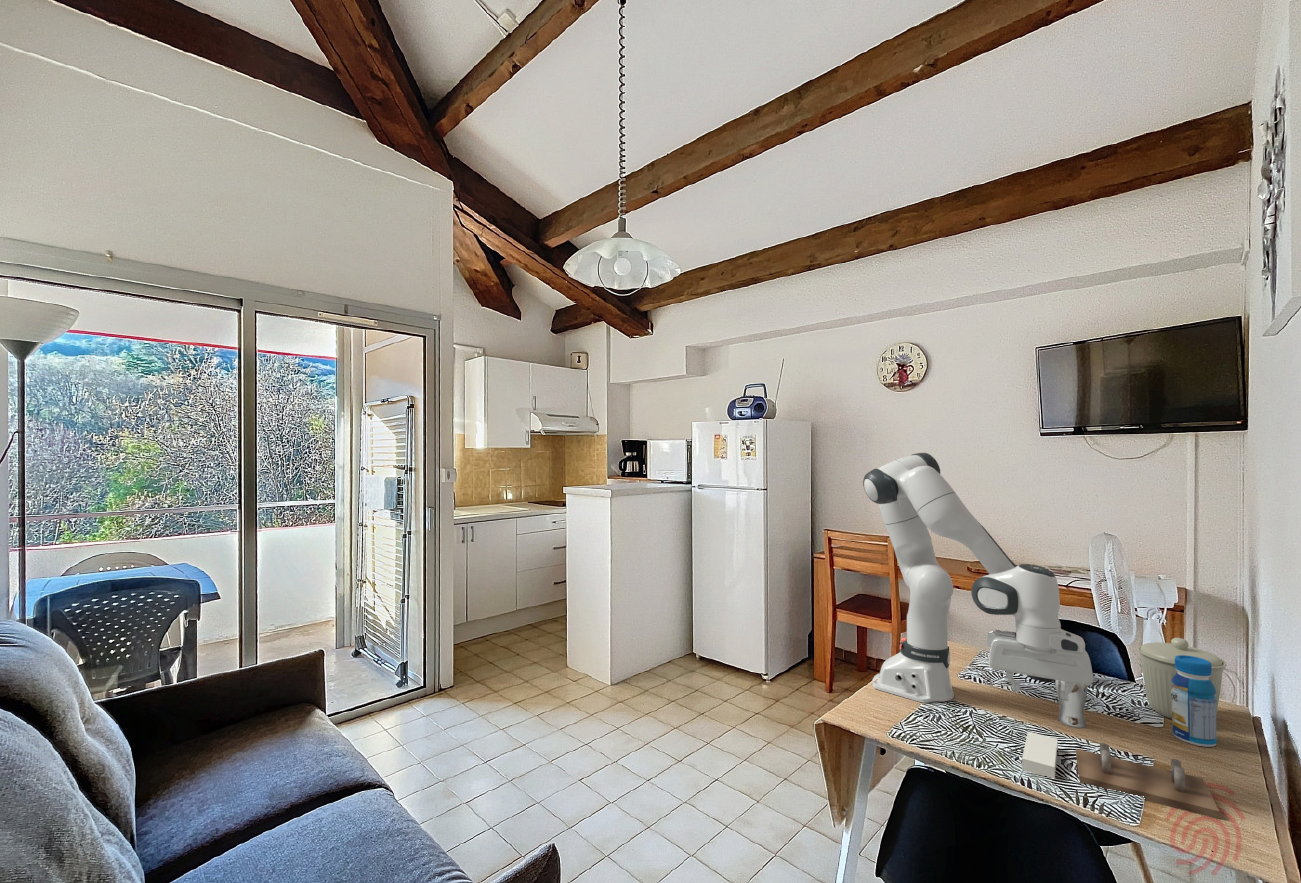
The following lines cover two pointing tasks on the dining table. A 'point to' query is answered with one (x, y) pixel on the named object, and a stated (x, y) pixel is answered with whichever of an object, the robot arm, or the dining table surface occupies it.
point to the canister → (1171, 671)
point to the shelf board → (1040, 755)
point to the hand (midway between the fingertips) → (1039, 695)
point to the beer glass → (1072, 705)
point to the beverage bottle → (1193, 702)
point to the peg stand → (1147, 781)
